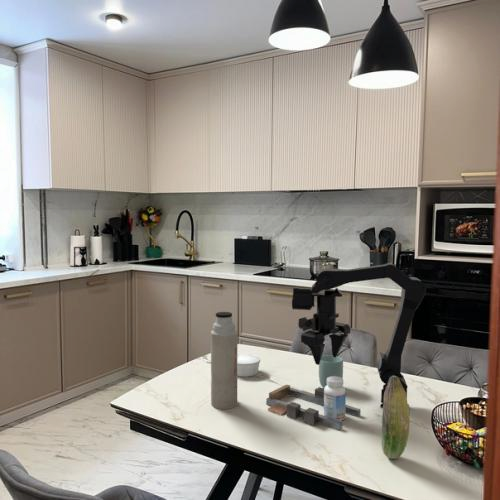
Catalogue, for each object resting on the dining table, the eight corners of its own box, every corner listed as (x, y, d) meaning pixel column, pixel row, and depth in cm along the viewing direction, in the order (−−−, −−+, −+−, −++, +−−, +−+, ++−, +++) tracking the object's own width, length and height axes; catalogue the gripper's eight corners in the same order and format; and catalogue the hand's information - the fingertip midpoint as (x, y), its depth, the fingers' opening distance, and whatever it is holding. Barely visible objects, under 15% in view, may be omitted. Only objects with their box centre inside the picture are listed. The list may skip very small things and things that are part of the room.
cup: (335, 394, 145) (336, 364, 144) (314, 388, 150) (314, 359, 149) (346, 387, 151) (347, 357, 151) (325, 381, 156) (326, 353, 155)
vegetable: (408, 455, 109) (411, 374, 107) (406, 469, 103) (409, 383, 102) (382, 450, 112) (385, 371, 110) (379, 463, 106) (381, 379, 104)
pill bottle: (344, 413, 132) (344, 375, 131) (346, 422, 126) (347, 383, 125) (322, 412, 133) (323, 374, 132) (324, 421, 127) (325, 382, 126)
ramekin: (224, 370, 168) (224, 356, 167) (251, 365, 172) (251, 352, 172) (236, 380, 157) (236, 365, 157) (265, 375, 162) (265, 361, 162)
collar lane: (365, 411, 133) (365, 400, 133) (333, 434, 119) (333, 421, 119) (294, 389, 149) (294, 379, 149) (259, 407, 136) (259, 395, 135)
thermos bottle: (239, 399, 141) (240, 310, 139) (233, 410, 134) (233, 316, 131) (215, 397, 143) (214, 309, 141) (207, 407, 135) (207, 315, 133)
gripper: (321, 302, 150) (321, 348, 151) (286, 311, 137) (286, 362, 138) (351, 306, 142) (351, 355, 144) (316, 317, 129) (316, 371, 130)
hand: (326, 360), depth 139 cm, fingers open, 9 cm apart
